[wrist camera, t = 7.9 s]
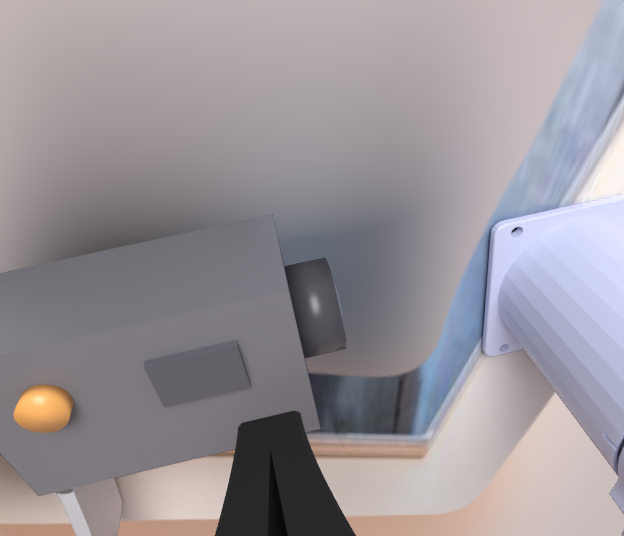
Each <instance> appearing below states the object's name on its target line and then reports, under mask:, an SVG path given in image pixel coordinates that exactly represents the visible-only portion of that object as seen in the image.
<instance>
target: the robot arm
mask: <svg viewBox="0 0 624 536" xmlns="http://www.w3.org/2000/svg"><path fill="white" fill-rule="evenodd" d="M516 227H518V228H517V230H516V231H515V232H513V233H511V232H512V230H513V229H514V228H516ZM482 349H483V351H484V353H485V354H486V355H487V356H490V357H491V356H497V355H501V354H506V353H510V352H514V351H518V350H523V349H524V350H525V352H526V353H527V354H528V356H529V357H530V358H531V360H532V361H533V363H534V364H535V365H536V367H537V368H538V369H539V371H540V372H541V373H542V375H543V376H544V377H545V379H546V380H547V381H548V383H549V384H550V385H551V387H552V388H553V389H554V391H555V392H556V393H557V395H558V396H559V397H560V399H561V400H562V401H563V403H564V404H565V405H566V407H567V408H568V409H569V411H570V412H571V413H572V415H573V416H574V417H575V419H576V420H577V422H578V423H579V424H580V425H581V427H582V428H583V429H584V431H585V432H586V434H587V435H588V436H589V438H590V439H591V440H592V442H593V443H594V444H595V445H596V447H597V448H598V450H599V451H600V452H601V454H602V455H603V456H604V458H605V459H606V460H607V461H608V463H609V464H610V466H611V467H612V468H613V470H614V471H615V472H616V474H617V475H618V481H617V483H616V484H615V486H614V487H613V489H612V490H611V491H610V493H609V494H610V495H611V497H612V498H613V500H614V501H615V503H616V504H617V505H618V507H619V508H620V510H621V511H622V513H623V514H624V194H621V195H616V196H612V197H607V198H603V199H598V200H594V201H589V202H585V203H580V204H576V205H571V206H567V207H562V208H558V209H553V210H549V211H544V212H540V213H535V214H531V215H526V216H522V217H517V218H513V219H508V220H504V221H501V222H498V223H497V224H496V225H495V226H494V227H493V228H492V231H491V238H490V251H489V264H488V277H487V291H486V304H485V317H484V330H483V344H482ZM215 536H356V535H355V533H354V532H353V530H352V528H351V527H350V525H349V523H348V521H347V520H346V518H345V516H344V514H343V513H342V511H341V509H340V507H339V505H338V504H337V502H336V500H335V498H334V496H333V494H332V492H331V490H330V488H329V486H328V484H327V482H326V480H325V478H324V476H323V474H322V472H321V470H320V468H319V466H318V464H317V461H316V459H315V457H314V454H313V452H312V449H311V447H310V444H309V442H308V439H307V436H306V432H305V429H304V425H303V421H302V417H301V413H300V412H298V411H295V410H294V411H290V412H285V413H281V414H277V415H273V416H268V417H264V418H260V419H256V420H252V421H247V422H243V423H241V424H240V426H239V427H238V433H237V441H236V448H235V454H234V460H233V465H232V470H231V474H230V479H229V484H228V488H227V492H226V496H225V500H224V504H223V508H222V511H221V515H220V519H219V523H218V527H217V530H216V534H215ZM622 536H624V530H623V533H622Z"/></svg>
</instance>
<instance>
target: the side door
mask: <svg viewBox="0 0 624 536" xmlns="http://www.w3.org/2000/svg"><path fill="white" fill-rule="evenodd" d="M56 493H58V495H59V498H60V500H61V502H62V504H63V507H64V509H65V511H66V513H67V516H68V518H69V520H70V522H71V524H72V527H73V529H74V531H75V533H76V536H118V530H119V524H120V518H121V511H122V505H123V503H122V500H121V497H120V494H119V490H118V487H117V484H116V481H115V478H113V479H108V480H104V481H100V482H96V483H92V484H87V485H83V486H79V487H75V488H71V489H67V490H62V491H58V492H56Z"/></svg>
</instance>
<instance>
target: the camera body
mask: <svg viewBox="0 0 624 536" xmlns="http://www.w3.org/2000/svg"><path fill="white" fill-rule="evenodd" d="M343 349H346V339H345V332H344V321H343V316H342V310H341V306H340V301H339V297H338V293H337V289H336V286H335V282H334V279H333V277H332V274H331V271H330V268H329V265H328V262H327V260H326V258H321V259H316V260H311V261H307V262H302V263H298V264H293V265H289V266H284V262H283V258H282V253H281V249H280V244H279V240H278V236H277V231H276V227H275V222H274V218H273V215H267V216H263V217H258V218H254V219H249V220H244V221H239V222H235V223H230V224H225V225H221V226H216V227H212V228H207V229H202V230H198V231H193V232H188V233H184V234H180V235H175V236H170V237H165V238H161V239H156V240H152V241H147V242H143V243H138V244H133V245H128V246H124V247H119V248H114V249H110V250H105V251H100V252H96V253H91V254H86V255H82V256H77V257H73V258H68V259H63V260H59V261H54V262H50V263H45V264H40V265H36V266H31V267H26V268H22V269H17V270H13V271H8V272H4V273H0V454H1V455H2V456H3V457H4V458H5V459H6V460H7V461H8V463H9V464H10V465H11V466H12V467H13V468H14V469H15V470H16V471H17V473H18V474H19V475H20V476H21V477H22V478H23V479H24V480H25V482H26V483H27V484H28V485H29V486H30V487H31V488H32V489H33V490H34V492H35V493H36V494H37V495H38V496H41V495H46V494H50V493H54V492H58V491H62V490H67V489H71V488H75V487H79V486H83V485H87V484H92V483H96V482H100V481H104V480H108V479H113V478H117V477H121V476H125V475H129V474H134V473H138V472H142V471H146V470H150V469H154V468H159V467H163V466H167V465H171V464H175V463H180V462H184V461H188V460H192V459H196V458H201V457H205V456H209V455H213V454H217V453H221V452H226V451H230V450H234V449H235V448H236V441H237V433H238V427H239V426H240V424H241V423H243V422H247V421H252V420H256V419H260V418H264V417H268V416H273V415H277V414H281V413H285V412H290V411H294V410H295V411H298V412H300V413H301V417H302V421H303V425H304V429H305V432H309V431H314V430H318V429H320V425H319V420H318V416H317V411H316V406H315V402H314V397H313V393H312V388H311V383H310V379H309V374H308V369H307V365H306V360H305V358H308V357H312V356H317V355H321V354H325V353H330V352H334V351H338V350H343Z"/></svg>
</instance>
